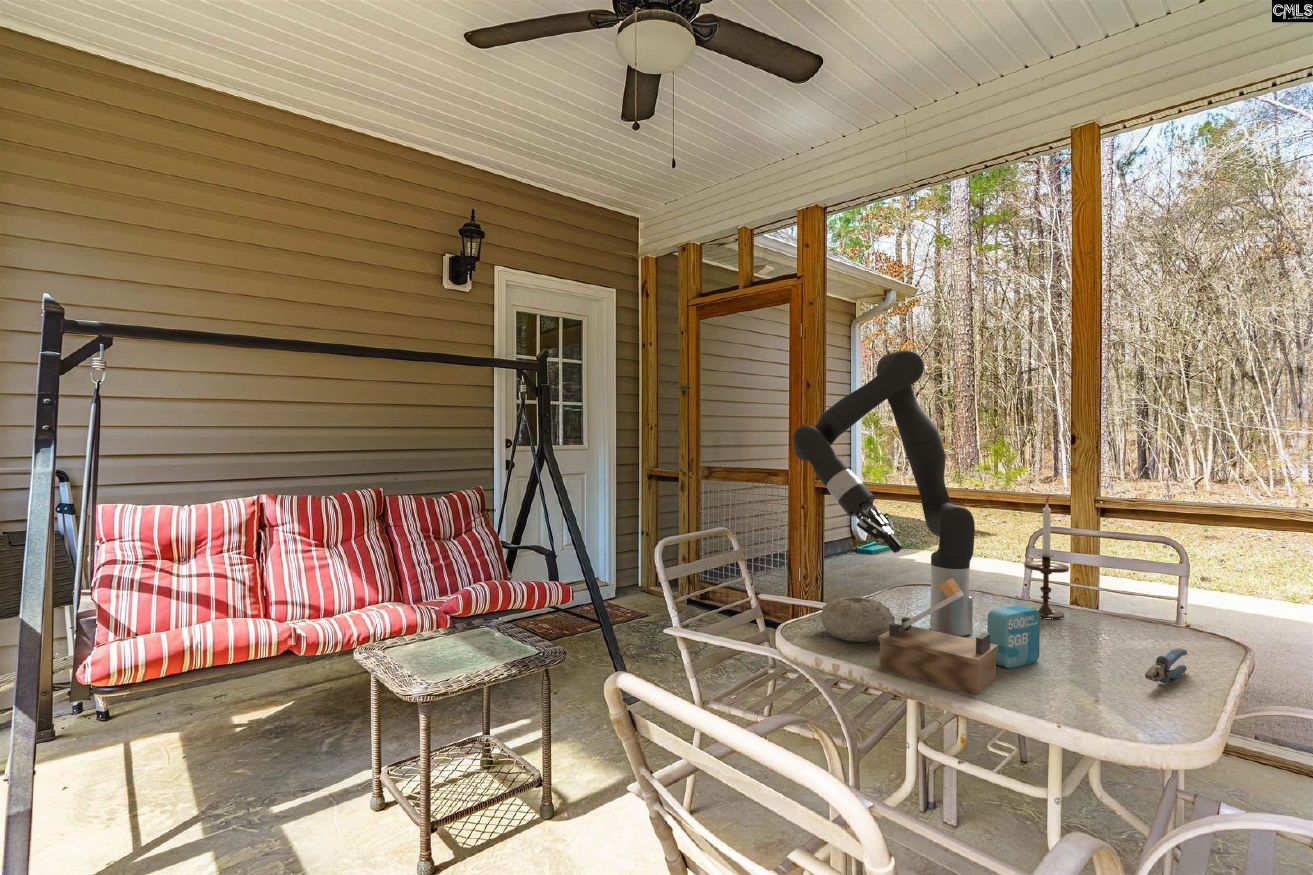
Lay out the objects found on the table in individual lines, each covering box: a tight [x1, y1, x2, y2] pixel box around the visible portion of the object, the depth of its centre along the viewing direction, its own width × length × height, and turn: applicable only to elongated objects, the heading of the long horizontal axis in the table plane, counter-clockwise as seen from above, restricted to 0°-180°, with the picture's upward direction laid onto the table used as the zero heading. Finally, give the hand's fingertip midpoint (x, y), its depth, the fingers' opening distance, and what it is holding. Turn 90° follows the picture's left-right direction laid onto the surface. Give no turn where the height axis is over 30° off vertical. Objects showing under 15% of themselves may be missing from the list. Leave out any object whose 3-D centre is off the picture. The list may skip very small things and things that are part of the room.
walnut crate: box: [877, 616, 998, 695], centre depth 136 cm, size 21×13×10 cm, turn 46°
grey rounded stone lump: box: [820, 595, 896, 643], centre depth 159 cm, size 18×18×10 cm
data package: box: [986, 604, 1041, 669], centre depth 143 cm, size 12×4×12 cm, turn 116°
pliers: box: [1144, 648, 1188, 684], centre depth 132 cm, size 20×2×6 cm, turn 124°
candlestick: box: [1023, 493, 1070, 619], centre depth 180 cm, size 11×11×35 cm
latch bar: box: [900, 578, 964, 632], centre depth 138 cm, size 17×4×4 cm
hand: (899, 550), depth 143 cm, fingers closed
